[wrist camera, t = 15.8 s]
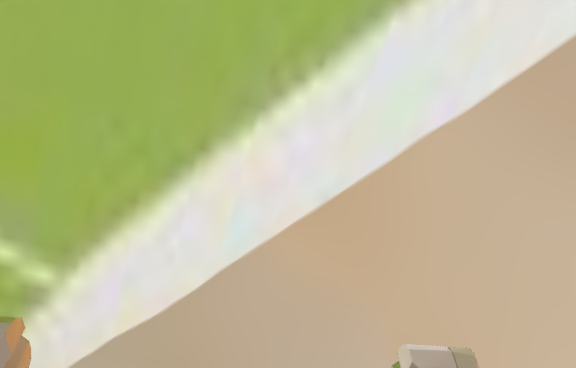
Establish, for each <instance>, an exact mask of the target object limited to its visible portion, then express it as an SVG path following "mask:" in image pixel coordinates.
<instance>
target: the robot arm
mask: <svg viewBox="0 0 576 368" xmlns="http://www.w3.org/2000/svg"><path fill="white" fill-rule="evenodd" d="M24 329H25V326H24V323H23V320H22V318H20V317H8V316H0V368H29V365H30V360H31V347H30V343H29V341H28V340H27V339H26V338H24V337H23V336H22V333H23V331H24ZM397 354H398V358H399V361H398V362H397V363H395V364H394V365H392V367H391V368H479V365H478V363H477V360H476V358H475V355H474V353H473V352H472V350H471V349H468V348H455V347H446V346H433V345H431V346H430V345H415V344H404V345H402V346H401V347H400V349H399V351H398V353H397Z"/></svg>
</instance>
